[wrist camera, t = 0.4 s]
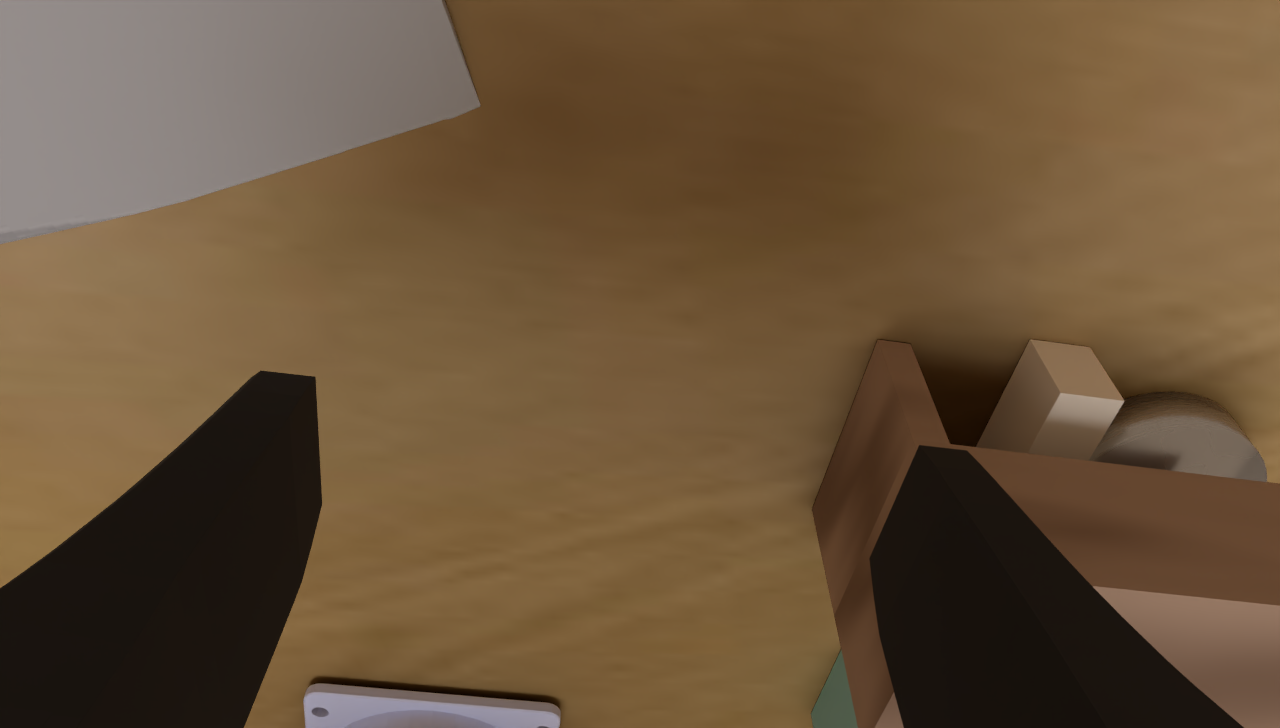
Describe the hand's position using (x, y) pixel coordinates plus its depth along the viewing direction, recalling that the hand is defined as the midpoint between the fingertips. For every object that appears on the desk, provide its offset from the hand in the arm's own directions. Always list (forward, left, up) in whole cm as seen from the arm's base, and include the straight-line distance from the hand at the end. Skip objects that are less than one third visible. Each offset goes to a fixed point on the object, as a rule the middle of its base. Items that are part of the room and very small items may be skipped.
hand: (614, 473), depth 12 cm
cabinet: (-7, -11, -10) cm, 16 cm away
